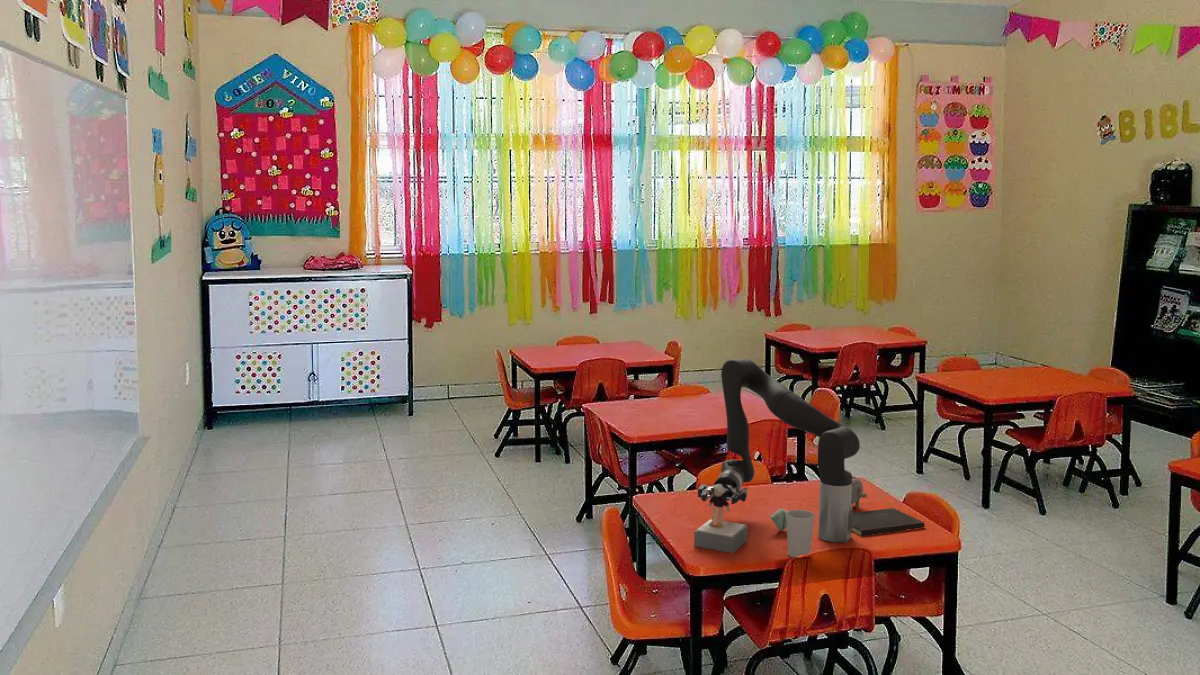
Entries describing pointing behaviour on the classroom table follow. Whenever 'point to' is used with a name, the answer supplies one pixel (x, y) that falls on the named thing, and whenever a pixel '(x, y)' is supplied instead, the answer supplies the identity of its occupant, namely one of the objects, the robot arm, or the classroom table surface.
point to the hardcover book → (883, 521)
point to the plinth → (721, 536)
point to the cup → (799, 532)
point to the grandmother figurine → (718, 506)
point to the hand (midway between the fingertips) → (718, 499)
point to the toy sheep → (856, 491)
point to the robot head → (780, 519)
